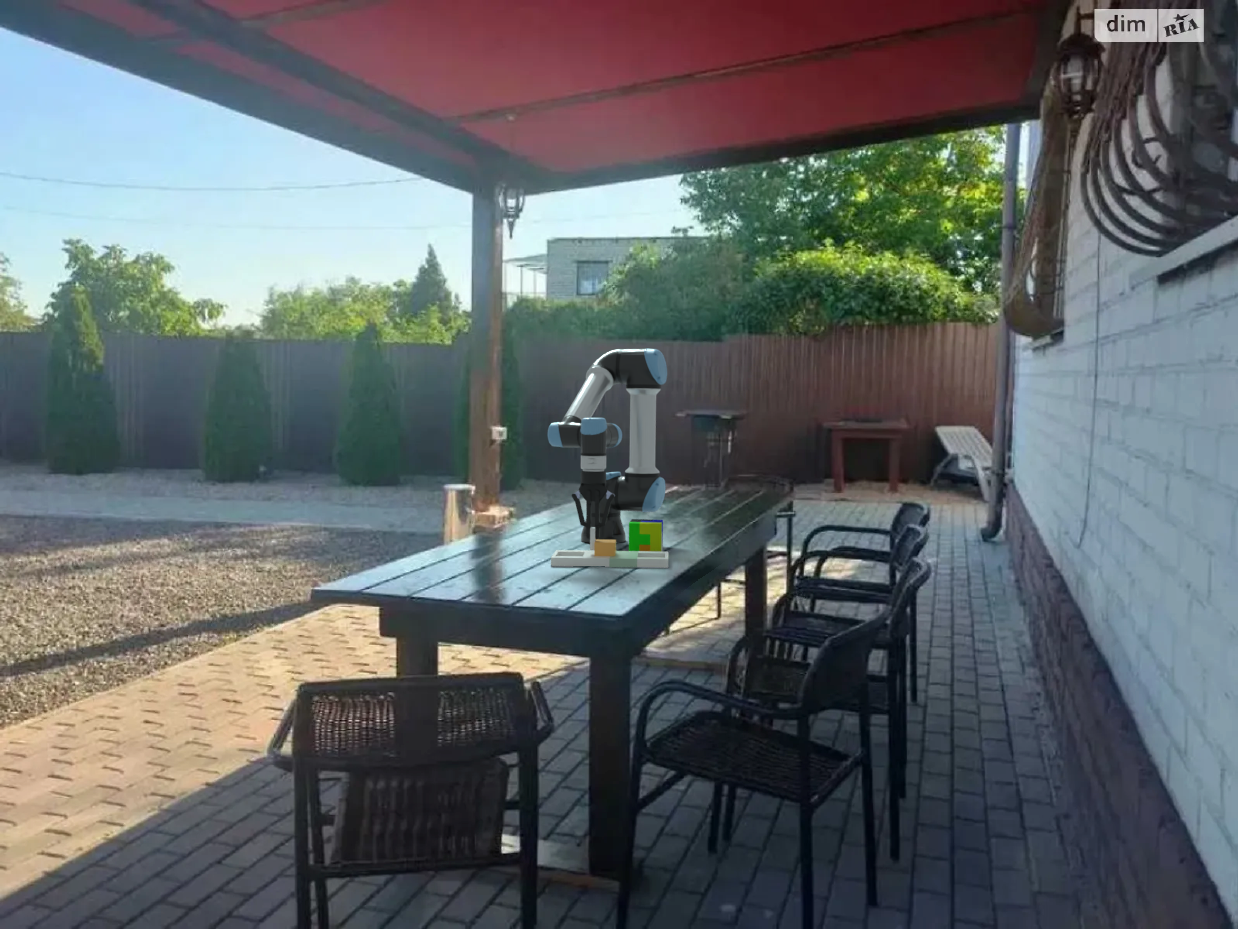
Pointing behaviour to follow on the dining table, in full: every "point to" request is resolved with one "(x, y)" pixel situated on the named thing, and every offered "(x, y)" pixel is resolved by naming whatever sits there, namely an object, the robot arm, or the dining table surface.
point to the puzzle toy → (645, 535)
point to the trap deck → (611, 559)
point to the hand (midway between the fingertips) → (592, 549)
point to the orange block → (604, 547)
